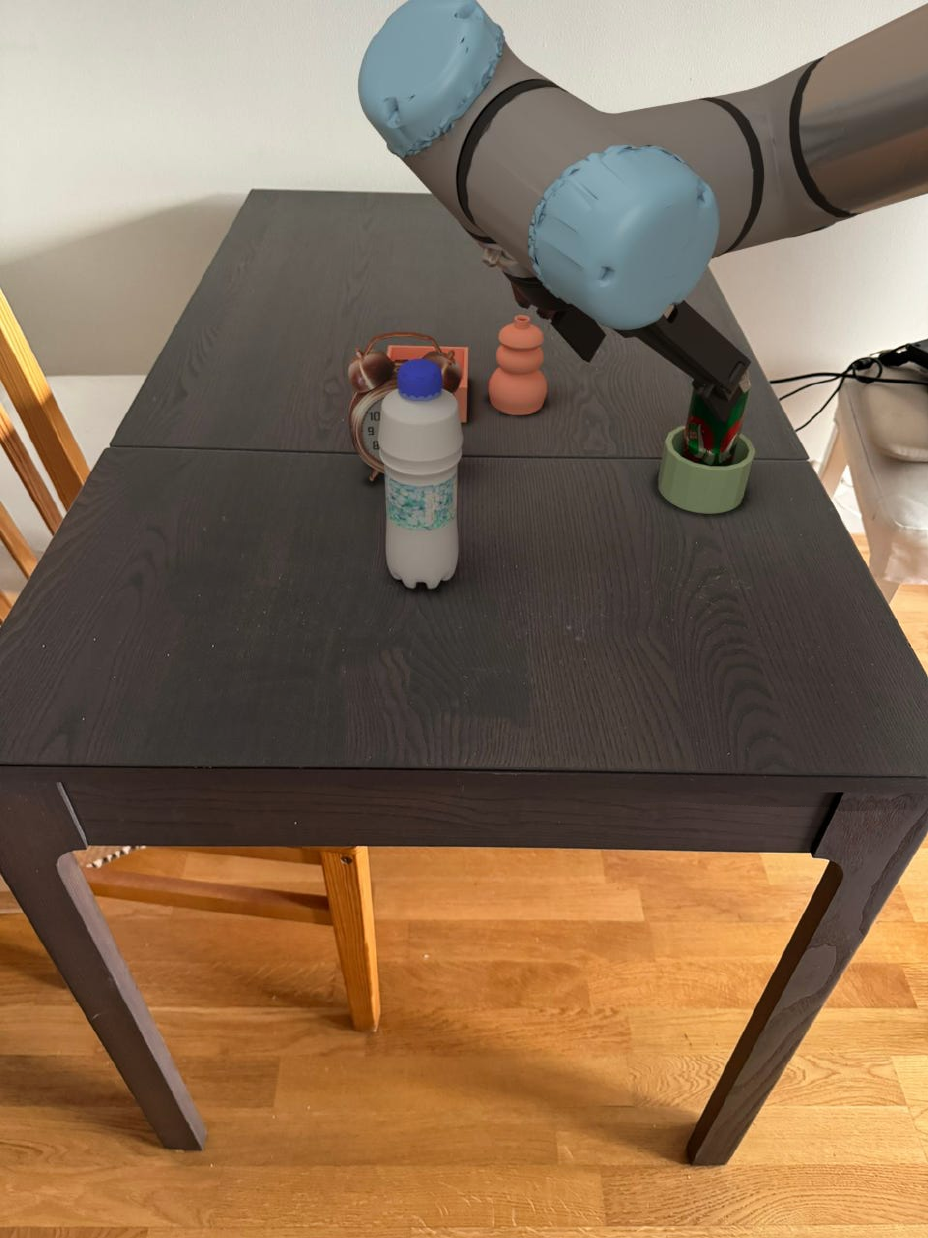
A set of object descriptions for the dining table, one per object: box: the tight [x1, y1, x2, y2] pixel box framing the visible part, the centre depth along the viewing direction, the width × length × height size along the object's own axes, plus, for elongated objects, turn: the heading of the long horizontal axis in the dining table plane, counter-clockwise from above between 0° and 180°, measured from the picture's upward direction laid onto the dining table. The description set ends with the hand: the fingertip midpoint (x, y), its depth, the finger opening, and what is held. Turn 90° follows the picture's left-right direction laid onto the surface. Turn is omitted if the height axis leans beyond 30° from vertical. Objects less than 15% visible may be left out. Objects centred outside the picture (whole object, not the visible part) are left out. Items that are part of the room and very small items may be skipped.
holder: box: [657, 424, 756, 515], centre depth 91 cm, size 8×8×5 cm
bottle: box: [378, 359, 464, 590], centre depth 75 cm, size 7×7×20 cm
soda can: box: [680, 369, 752, 467], centre depth 88 cm, size 5×5×12 cm
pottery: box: [386, 314, 548, 423], centre depth 101 cm, size 18×10×10 cm, turn 89°
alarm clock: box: [347, 331, 462, 482], centre depth 89 cm, size 11×5×15 cm, turn 94°
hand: (659, 375), depth 75 cm, fingers open, 13 cm apart
